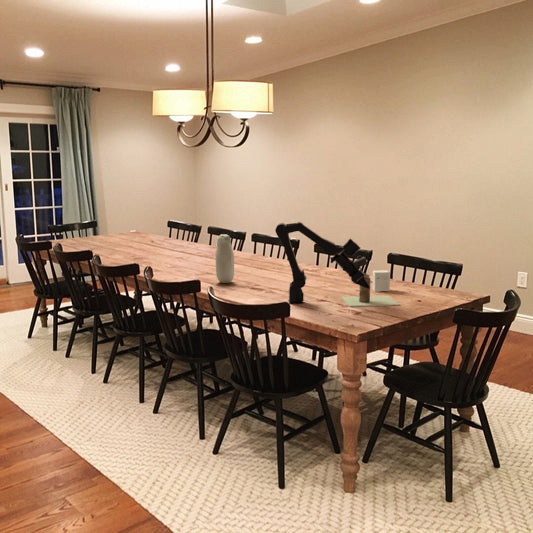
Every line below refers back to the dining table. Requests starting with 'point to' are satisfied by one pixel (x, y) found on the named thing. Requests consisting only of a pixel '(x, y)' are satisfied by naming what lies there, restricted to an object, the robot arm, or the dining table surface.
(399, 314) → the dining table surface
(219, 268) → the white tall cylinder
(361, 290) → the pepper mill
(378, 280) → the small box
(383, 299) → the placemat
